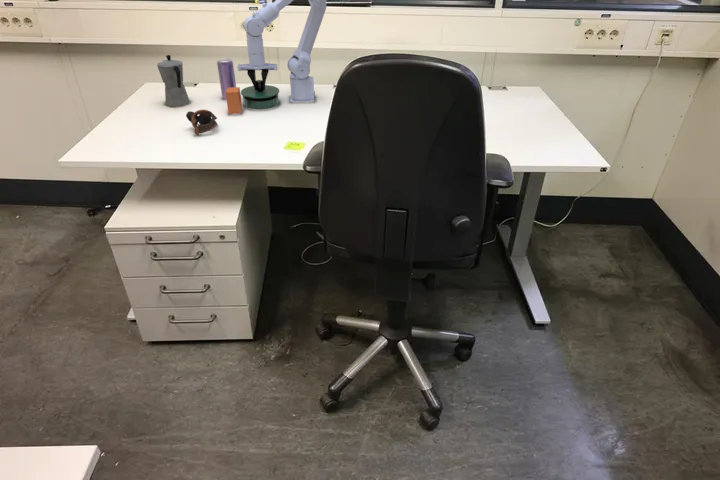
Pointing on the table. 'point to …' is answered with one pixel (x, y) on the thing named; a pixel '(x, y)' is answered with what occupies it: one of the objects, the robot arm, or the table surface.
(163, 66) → the coffeepot
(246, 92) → the tin lid
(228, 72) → the beverage can
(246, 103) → the lunch tin
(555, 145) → the table surface
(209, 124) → the pottery mug
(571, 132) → the table surface
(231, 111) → the juice carton
